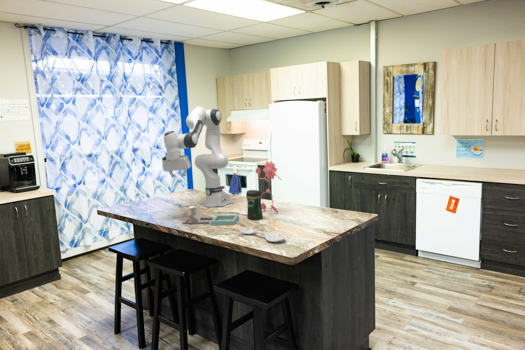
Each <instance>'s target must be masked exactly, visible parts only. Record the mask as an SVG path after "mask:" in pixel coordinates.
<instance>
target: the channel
mask: <svg viewBox="0 0 525 350" xmlns="http://www.w3.org/2000/svg"><path fill="white" fill-rule="evenodd" d="M214 217H215V216H213V217H211V216H210V217H207V216H206V217H205V216H204V217H201V216H200V222H189V217H187V218H185V220H183V221H182V222H181V225H182V224H209V225H211V224H210V221H211V220H212V219H213V218H214Z"/></svg>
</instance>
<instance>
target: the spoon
mask: <svg viewBox="0 0 525 350" xmlns="http://www.w3.org/2000/svg"><path fill="white" fill-rule="evenodd" d="M237 232H240V233H242V234H243V233H244V234H247V235H252V234H253V235H254V234H255V233H256V234H257V233H258V234H261V235H263V236H264V238H265V240H266V241H268V242H271V243H278V242H282V241H284V240H285V239H286V237H285V236H281V235H279V236H278V235H273V234H270V233H266V232H264V231H260V230H255V229H253V227H251V226H250V225H248V226H247V227H245V228H243V229H237Z"/></svg>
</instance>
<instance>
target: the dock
mask: <svg viewBox="0 0 525 350" xmlns="http://www.w3.org/2000/svg"><path fill="white" fill-rule="evenodd" d="M213 217H214V218H213V219H212V220H209V223H210V224H209V225H210V226H235V224H236V223H237V222H238V221H239V219H240V215H239V214H219V215H218V214H215V216H213Z"/></svg>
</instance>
